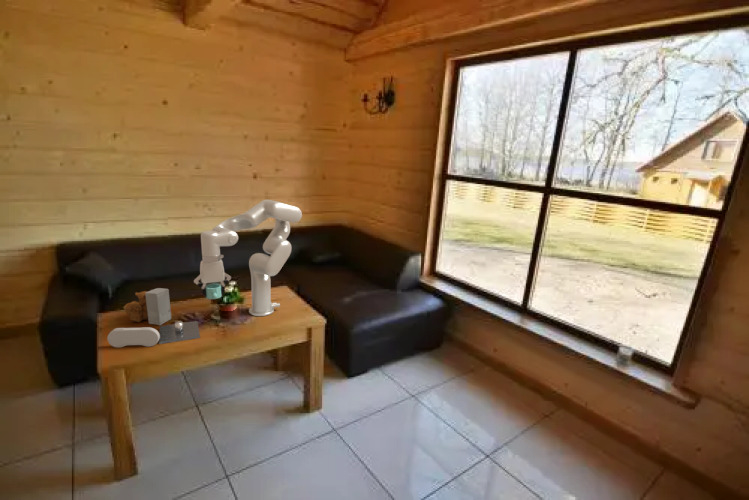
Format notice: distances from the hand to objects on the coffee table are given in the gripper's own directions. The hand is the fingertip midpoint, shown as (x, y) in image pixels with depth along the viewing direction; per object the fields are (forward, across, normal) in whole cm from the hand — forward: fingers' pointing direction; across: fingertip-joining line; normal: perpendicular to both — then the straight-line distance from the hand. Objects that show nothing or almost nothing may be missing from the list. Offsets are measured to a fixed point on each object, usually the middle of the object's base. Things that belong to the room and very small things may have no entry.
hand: (213, 294), depth 177 cm
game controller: (+17, +32, +6) cm, 37 cm away
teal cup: (+1, 0, +1) cm, 1 cm away
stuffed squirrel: (+17, +31, -22) cm, 41 cm away
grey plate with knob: (+17, +16, 0) cm, 23 cm away
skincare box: (+17, +24, -16) cm, 33 cm away
